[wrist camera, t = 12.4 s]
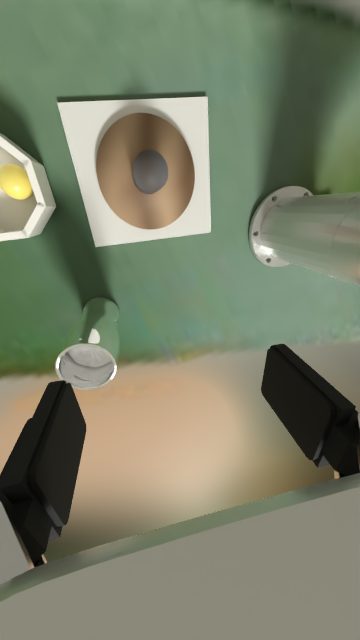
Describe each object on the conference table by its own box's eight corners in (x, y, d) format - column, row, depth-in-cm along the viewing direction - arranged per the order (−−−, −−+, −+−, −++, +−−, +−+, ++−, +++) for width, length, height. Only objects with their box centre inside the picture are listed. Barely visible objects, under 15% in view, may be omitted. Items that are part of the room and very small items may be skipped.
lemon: (-3, 167, 26) (-2, 150, 24) (33, 182, 29) (38, 168, 26) (-6, 196, 26) (-5, 182, 23) (30, 209, 28) (35, 197, 26)
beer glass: (90, 335, 39) (71, 398, 26) (72, 301, 36) (39, 354, 23) (128, 323, 40) (127, 380, 27) (113, 289, 36) (104, 334, 23)
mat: (206, 98, 28) (207, 96, 27) (209, 231, 35) (210, 232, 35) (58, 104, 26) (57, 102, 25) (96, 246, 33) (95, 246, 32)
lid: (190, 113, 28) (204, 91, 23) (195, 224, 34) (207, 227, 29) (84, 117, 26) (73, 94, 21) (110, 233, 32) (106, 238, 27)
